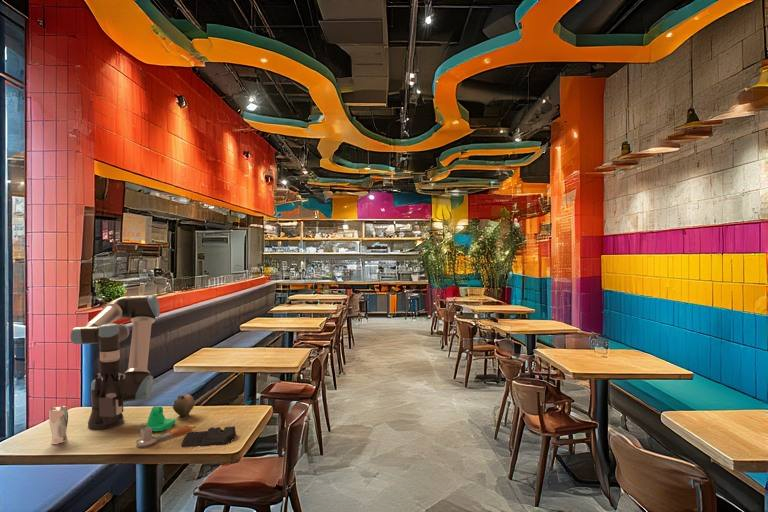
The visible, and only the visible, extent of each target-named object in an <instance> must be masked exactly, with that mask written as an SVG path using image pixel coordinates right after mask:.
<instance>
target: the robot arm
mask: <svg viewBox="0 0 768 512" xmlns="http://www.w3.org/2000/svg"><path fill="white" fill-rule="evenodd" d="M160 314H161V307H160V302H159V299H158V297H157V296H156V295H152V294H151V295H149V294H146V295H143V294H142V295H123V296H121V297H118V298H117V297H116V298H115V299H113V300H111V301H108V303H106V304H105V305H104V306H103V307H102V309H101V311H100V312H98V313H97V314H96V316H94V317H93V318H92V319H91V320H89V322H87V323H86V324H85V325H83V326H77V327H76V326H75V327H73V328H72V329H71V331H70V336H69V337H70V341H71V344H74V345H90V344H99V347H98V348H99V361H100V362H99V371H100V372H99V373H96V374H94V380H92V381H91V384H90V386H91V387H90V388H91V389H90V392H91V393H90V395H91V396H90V397H91V411H90V415H89V418H88V420H87V428H88V429H91V430H107V429H111V428H114V427H116V426H120V425H121V424H123V423H124V421H125V418H124V414H123V412H122V406H123V407H124V402H139V401H144V400H145V401H146V400H147V399H149V397H150V396H151V394H152V391H153V388H154V377H153V376H152V375H151V372H150V371H149V370H148V363H149V354H150V353H149V352H150V343H151V342H150V341H151V333H152V324H154V323H155V322H156V318H159V317H160ZM120 319H130V321H131V322H132V330H131V331H132V333H131V341H130V349H129V350H130V351H129V359H128V366H127V370H125V372H124V373H121V371H120V368H121V360H120V358H121V356H120V355H121V353H120V343H121V342H124V341H125V340H127V338H128V337H129V335H130V328H129V327H128V326H127V325H126V324H123V323H120V324H119V323H114V322H117V321H118V320H120ZM109 393H116V396H117V399H116V416H114V417H102V416H99V397H102V396H104V395H107V394H109Z"/></svg>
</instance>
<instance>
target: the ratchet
mask: <svg viewBox="0 0 768 512" xmlns="http://www.w3.org/2000/svg"><path fill="white" fill-rule="evenodd" d="M192 428H193V427H192V426H190V425H187V424H186V425H184V426H181V427H178V428H174V429H172V430H169V431H168V432H167V433H162V434H160V435H156V436H155V435H154V436H153V431H152V428H151V427H149V426H147V427H146V426H145V427H140V429H139V430H140V431H139V432H140V438H138V439H137V440H136V441H135V445H136V448H138V449H146V448H151V447H153V446H155V445H156V444H157V443H159V442H163V441H165V440H168V439H171V438H175V437H179V436H182V435H184V434H188V433H189V432H193V429H192Z"/></svg>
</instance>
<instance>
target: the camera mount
mask: <svg viewBox="0 0 768 512" xmlns="http://www.w3.org/2000/svg"><path fill="white" fill-rule="evenodd" d="M176 421H177V418H166V417H165V416H164V407H162V406H155V405H154V406H153V407H152V408H151V411H150V413H149V416H148V420H147V423H146V425H145V427H147V426H149V427H151V428H152V432H162V431H167V430H170V428H172V427H173V425H174V424H176Z"/></svg>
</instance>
